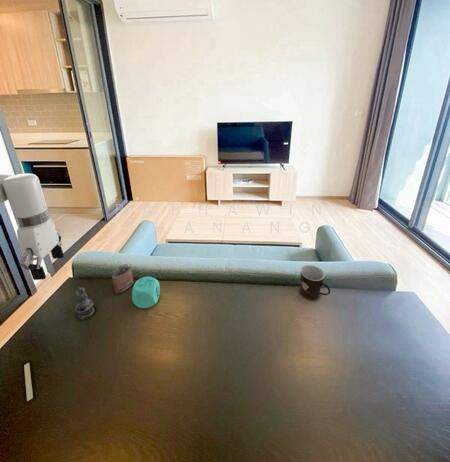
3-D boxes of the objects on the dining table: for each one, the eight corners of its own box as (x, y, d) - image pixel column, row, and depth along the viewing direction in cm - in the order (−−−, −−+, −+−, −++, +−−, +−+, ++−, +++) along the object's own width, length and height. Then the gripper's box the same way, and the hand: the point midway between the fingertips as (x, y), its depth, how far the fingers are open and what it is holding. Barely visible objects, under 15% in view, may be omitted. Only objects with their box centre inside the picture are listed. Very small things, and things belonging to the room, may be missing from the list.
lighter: (130, 279, 104) (127, 260, 101) (135, 282, 102) (132, 263, 99) (113, 291, 98) (108, 271, 95) (118, 294, 96) (113, 274, 93)
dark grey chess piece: (92, 303, 92) (85, 278, 88) (97, 313, 88) (90, 286, 84) (75, 313, 88) (67, 286, 84) (79, 323, 84) (71, 296, 80)
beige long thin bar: (24, 365, 71) (24, 365, 71) (29, 362, 72) (29, 362, 72) (27, 401, 63) (27, 401, 63) (32, 397, 63) (32, 397, 63)
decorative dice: (155, 308, 90) (152, 291, 87) (133, 308, 90) (130, 291, 87) (160, 292, 97) (158, 276, 94) (140, 292, 97) (138, 276, 95)
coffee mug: (294, 286, 99) (297, 266, 96) (315, 284, 100) (318, 264, 97) (307, 309, 88) (310, 287, 85) (329, 307, 89) (333, 285, 86)
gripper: (38, 205, 76) (53, 251, 82) (-6, 234, 60) (16, 289, 66) (63, 204, 77) (76, 250, 83) (26, 233, 60) (45, 287, 67)
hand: (49, 267), depth 74 cm, fingers open, 9 cm apart
